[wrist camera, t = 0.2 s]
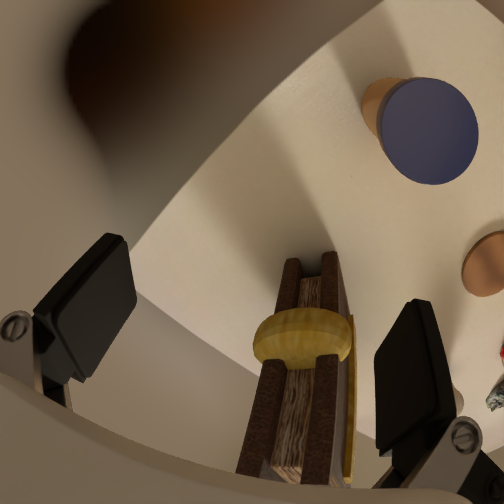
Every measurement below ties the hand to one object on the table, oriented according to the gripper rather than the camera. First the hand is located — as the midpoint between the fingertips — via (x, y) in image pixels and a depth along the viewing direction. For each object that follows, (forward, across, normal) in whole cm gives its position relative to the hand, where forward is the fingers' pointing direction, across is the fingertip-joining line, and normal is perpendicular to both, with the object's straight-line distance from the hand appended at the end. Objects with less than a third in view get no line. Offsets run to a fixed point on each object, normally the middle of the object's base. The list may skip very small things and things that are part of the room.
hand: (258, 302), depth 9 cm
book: (+22, -7, +20) cm, 31 cm away
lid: (+12, -8, -5) cm, 15 cm away
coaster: (+22, -28, +8) cm, 37 cm away
